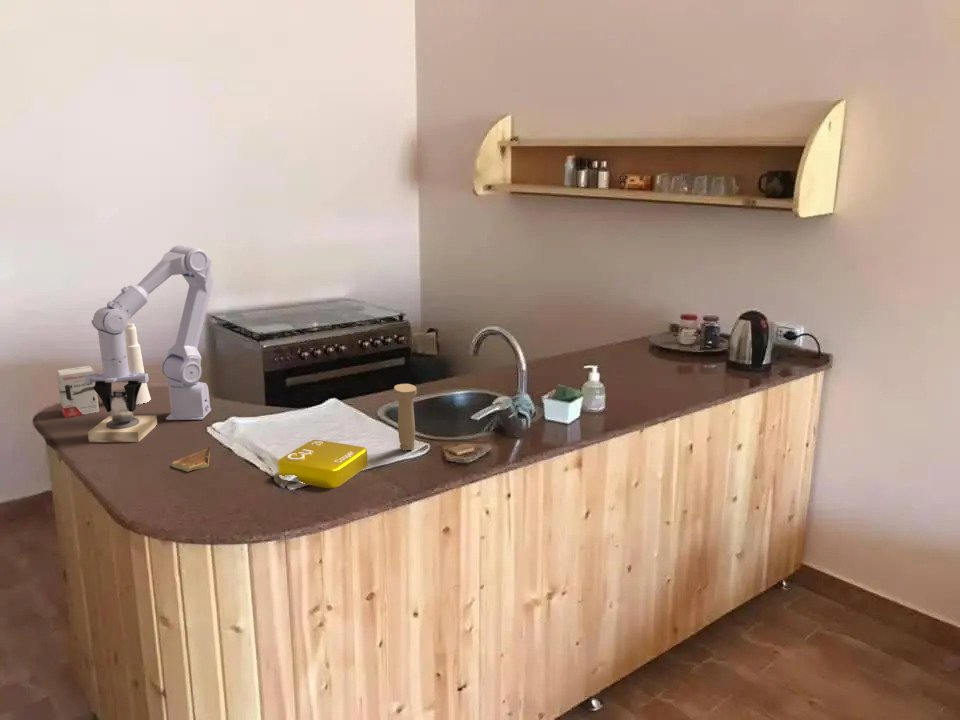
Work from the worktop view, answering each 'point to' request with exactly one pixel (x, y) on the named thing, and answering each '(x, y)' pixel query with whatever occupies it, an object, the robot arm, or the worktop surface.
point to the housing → (120, 406)
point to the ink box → (77, 392)
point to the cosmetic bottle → (136, 361)
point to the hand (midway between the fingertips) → (121, 410)
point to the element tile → (324, 463)
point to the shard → (193, 461)
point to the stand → (122, 429)
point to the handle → (406, 415)
